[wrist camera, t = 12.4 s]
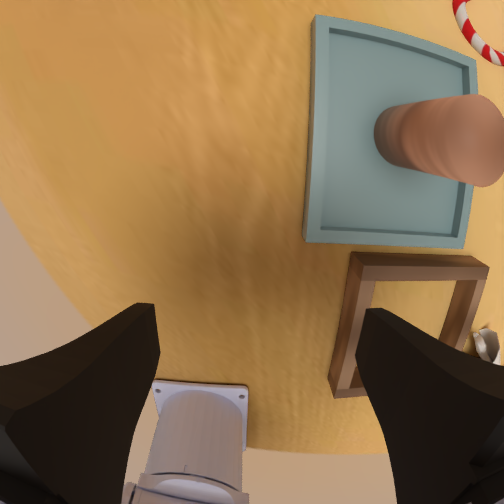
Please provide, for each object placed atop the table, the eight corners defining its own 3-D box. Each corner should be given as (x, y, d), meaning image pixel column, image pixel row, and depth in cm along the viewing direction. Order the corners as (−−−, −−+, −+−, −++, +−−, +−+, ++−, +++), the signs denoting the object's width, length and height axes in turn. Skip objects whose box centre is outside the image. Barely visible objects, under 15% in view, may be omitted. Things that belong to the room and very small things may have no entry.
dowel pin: (424, 170, 18) (505, 192, 10) (371, 163, 18) (443, 180, 10) (428, 112, 17) (510, 108, 9) (374, 100, 17) (447, 82, 9)
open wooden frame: (436, 366, 24) (447, 382, 22) (327, 378, 24) (333, 398, 22) (471, 255, 21) (489, 267, 18) (351, 251, 20) (363, 265, 18)
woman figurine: (525, 309, 18) (538, 381, 23) (496, 285, 22) (520, 361, 27) (427, 407, 20) (471, 444, 26) (407, 373, 25) (457, 421, 30)
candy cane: (547, 18, 12) (505, 85, 15) (539, 19, 13) (495, 86, 17) (500, -44, 10) (444, 4, 14) (493, -40, 11) (436, 9, 15)
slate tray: (452, 242, 20) (463, 249, 19) (301, 235, 20) (305, 242, 19) (464, 63, 16) (475, 60, 14) (310, 22, 15) (315, 14, 14)
